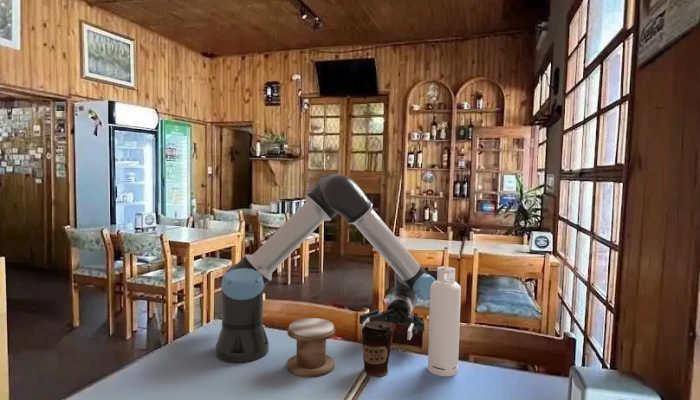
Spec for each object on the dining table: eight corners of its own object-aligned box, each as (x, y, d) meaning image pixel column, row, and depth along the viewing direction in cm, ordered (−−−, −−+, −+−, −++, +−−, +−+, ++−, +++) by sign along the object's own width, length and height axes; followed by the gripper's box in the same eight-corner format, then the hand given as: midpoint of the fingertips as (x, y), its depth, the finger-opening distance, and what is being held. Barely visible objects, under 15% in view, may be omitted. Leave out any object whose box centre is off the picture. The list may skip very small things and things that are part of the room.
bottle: (449, 361, 123) (453, 264, 121) (463, 375, 115) (467, 271, 113) (423, 364, 121) (426, 265, 119) (434, 377, 113) (438, 272, 111)
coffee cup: (390, 381, 111) (391, 331, 110) (358, 377, 113) (359, 328, 112) (393, 366, 119) (394, 320, 119) (363, 363, 121) (364, 317, 120)
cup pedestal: (277, 365, 118) (277, 325, 118) (312, 351, 128) (312, 314, 127) (309, 382, 110) (309, 338, 109) (344, 365, 119) (345, 325, 118)
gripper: (436, 325, 141) (428, 351, 121) (363, 316, 149) (344, 339, 129) (437, 303, 141) (429, 324, 121) (364, 295, 148) (344, 314, 128)
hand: (385, 332), depth 125 cm, fingers open, 13 cm apart
